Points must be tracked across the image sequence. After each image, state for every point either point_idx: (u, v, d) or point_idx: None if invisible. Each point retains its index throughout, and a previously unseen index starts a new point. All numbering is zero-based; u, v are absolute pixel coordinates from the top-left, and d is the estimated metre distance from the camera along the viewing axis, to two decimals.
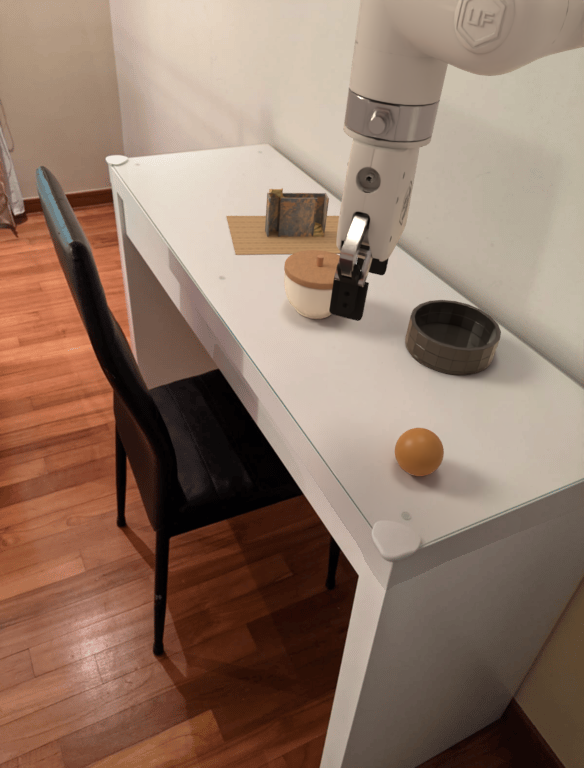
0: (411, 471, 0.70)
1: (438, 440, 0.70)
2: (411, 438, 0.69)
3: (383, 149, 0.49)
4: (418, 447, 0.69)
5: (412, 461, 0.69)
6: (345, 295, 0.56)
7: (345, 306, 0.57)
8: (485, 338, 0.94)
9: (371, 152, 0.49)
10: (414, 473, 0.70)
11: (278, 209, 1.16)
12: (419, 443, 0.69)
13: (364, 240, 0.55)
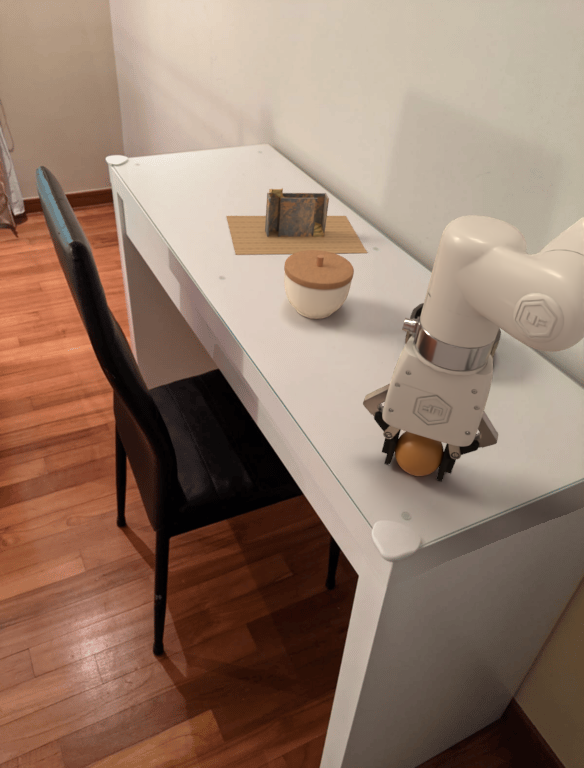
0: (411, 471, 0.70)
1: None
2: (411, 438, 0.69)
3: (407, 345, 0.62)
4: (418, 447, 0.69)
5: (412, 461, 0.69)
6: None
7: None
8: None
9: None
10: (414, 473, 0.70)
11: (278, 209, 1.16)
12: (419, 443, 0.69)
13: None
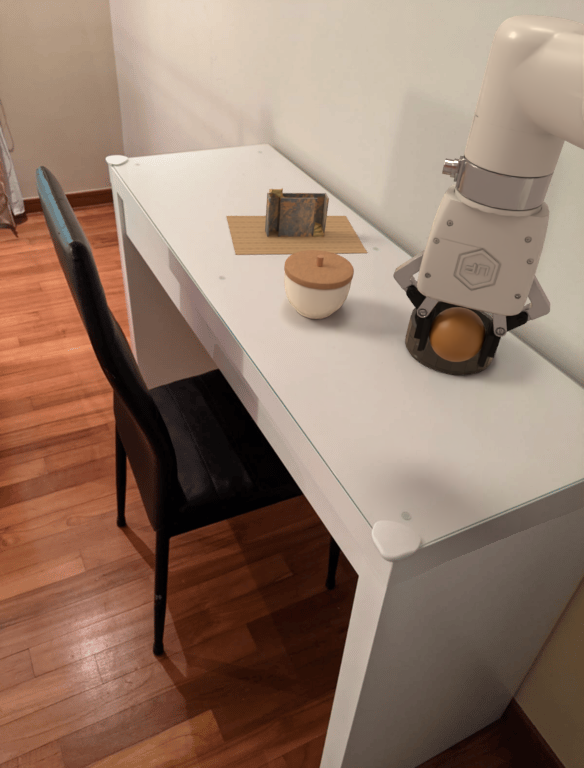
0: (449, 354, 0.61)
1: (479, 318, 0.61)
2: (449, 316, 0.61)
3: (448, 192, 0.54)
4: (457, 324, 0.60)
5: (451, 341, 0.60)
6: None
7: None
8: None
9: None
10: (452, 357, 0.61)
11: (278, 209, 1.16)
12: (458, 320, 0.60)
13: None
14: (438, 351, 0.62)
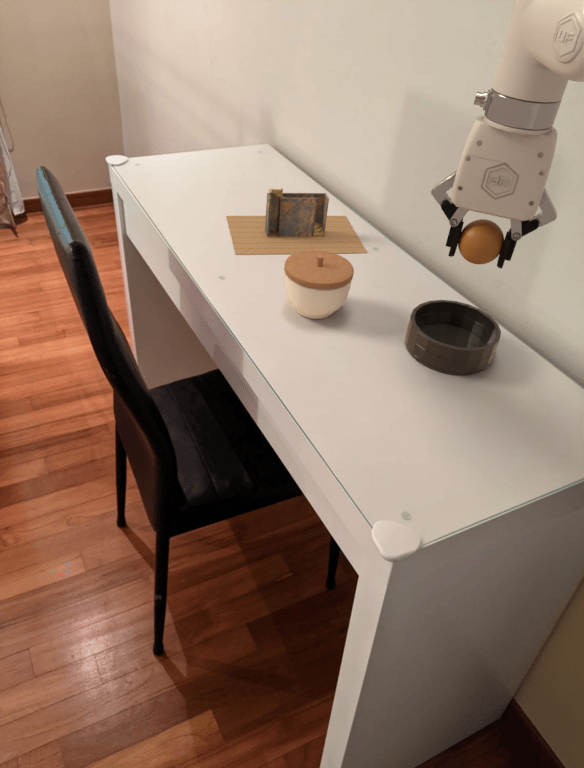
0: (475, 256, 0.76)
1: (499, 227, 0.76)
2: (475, 225, 0.76)
3: (478, 119, 0.69)
4: (482, 230, 0.75)
5: (477, 244, 0.75)
6: None
7: None
8: (485, 338, 0.94)
9: None
10: (477, 258, 0.76)
11: (278, 209, 1.16)
12: (483, 227, 0.75)
13: None
14: (466, 254, 0.77)
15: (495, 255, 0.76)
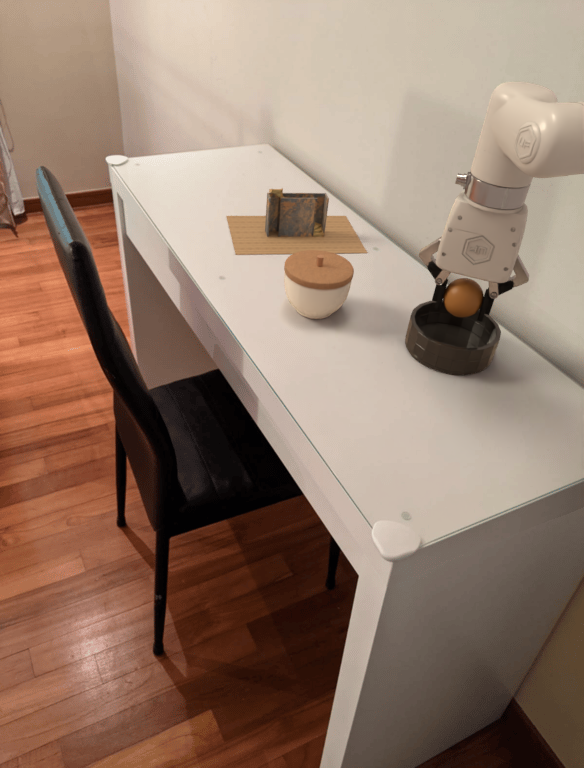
0: (457, 311, 0.86)
1: (479, 286, 0.86)
2: (458, 283, 0.86)
3: (459, 196, 0.79)
4: (464, 289, 0.85)
5: (459, 301, 0.85)
6: None
7: None
8: (485, 338, 0.94)
9: None
10: (459, 313, 0.86)
11: (278, 209, 1.16)
12: (464, 286, 0.85)
13: None
14: (449, 309, 0.87)
15: (475, 310, 0.86)
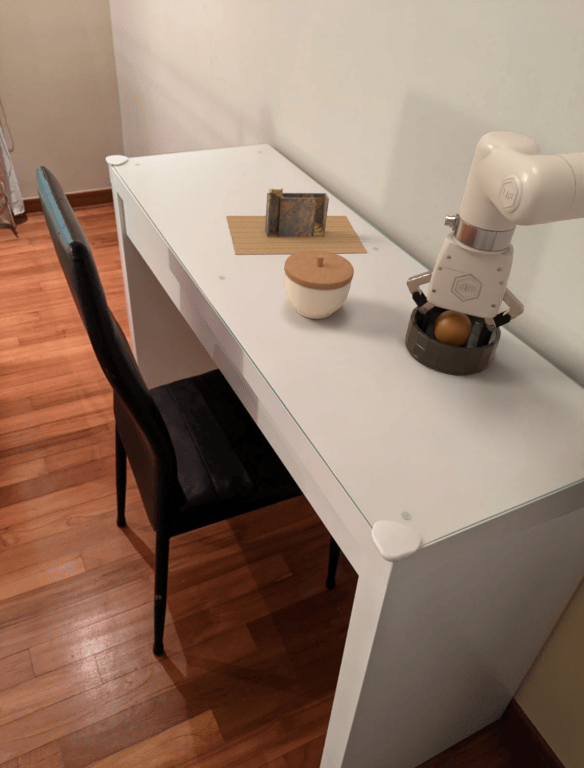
0: (447, 341, 0.90)
1: (467, 317, 0.90)
2: (446, 316, 0.89)
3: (448, 236, 0.82)
4: (451, 321, 0.89)
5: (448, 332, 0.89)
6: None
7: None
8: None
9: (447, 236, 0.83)
10: (449, 343, 0.90)
11: (278, 209, 1.16)
12: (452, 318, 0.89)
13: None
14: (440, 340, 0.90)
15: (465, 340, 0.90)
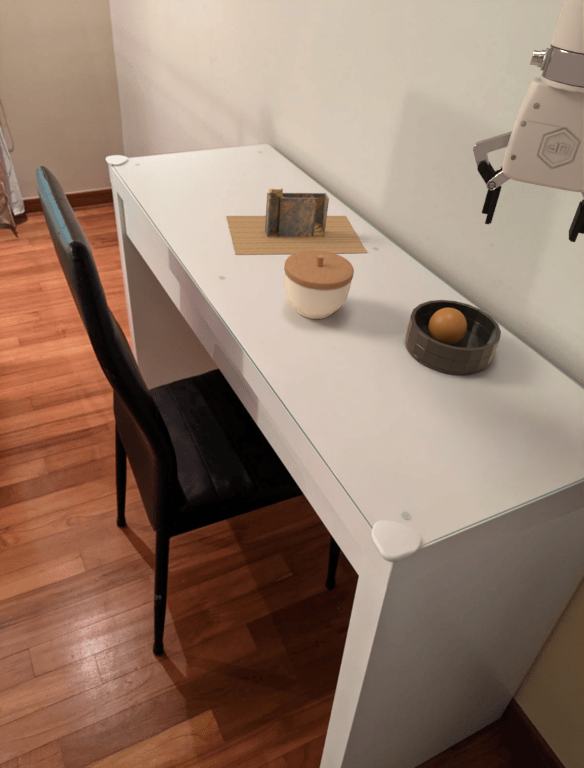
0: (444, 338, 0.90)
1: (458, 311, 0.90)
2: (437, 313, 0.90)
3: (535, 80, 0.63)
4: (443, 316, 0.89)
5: (442, 328, 0.89)
6: None
7: None
8: (485, 338, 0.94)
9: None
10: (447, 339, 0.90)
11: (278, 209, 1.16)
12: (443, 313, 0.90)
13: None
14: (437, 339, 0.91)
15: (461, 333, 0.89)
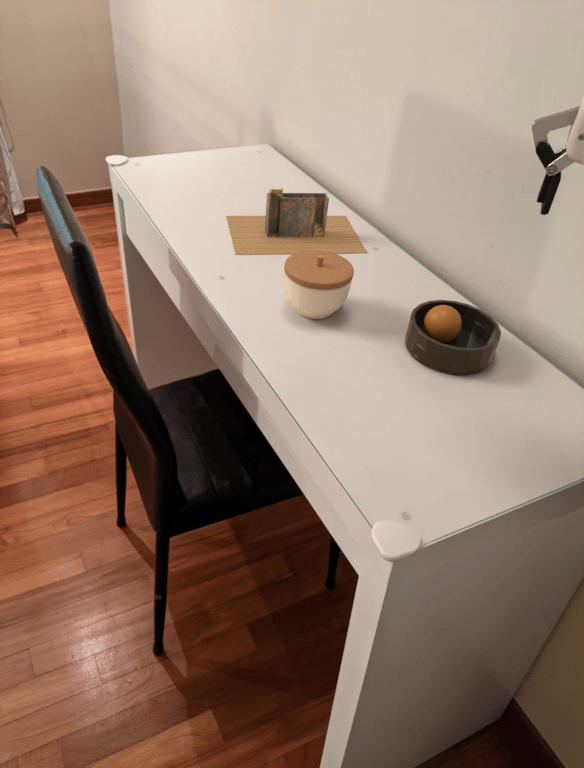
0: (439, 333, 0.90)
1: (448, 306, 0.91)
2: (428, 312, 0.91)
3: None
4: (433, 313, 0.90)
5: (435, 323, 0.90)
6: (543, 182, 0.63)
7: (540, 193, 0.64)
8: (485, 338, 0.94)
9: None
10: (443, 333, 0.90)
11: (278, 209, 1.16)
12: (433, 310, 0.91)
13: None
14: (434, 336, 0.91)
15: (456, 324, 0.90)
